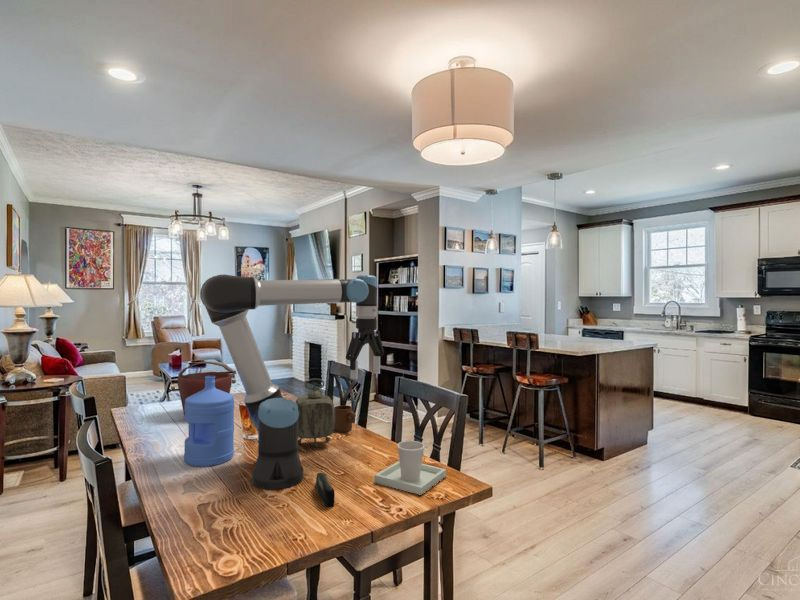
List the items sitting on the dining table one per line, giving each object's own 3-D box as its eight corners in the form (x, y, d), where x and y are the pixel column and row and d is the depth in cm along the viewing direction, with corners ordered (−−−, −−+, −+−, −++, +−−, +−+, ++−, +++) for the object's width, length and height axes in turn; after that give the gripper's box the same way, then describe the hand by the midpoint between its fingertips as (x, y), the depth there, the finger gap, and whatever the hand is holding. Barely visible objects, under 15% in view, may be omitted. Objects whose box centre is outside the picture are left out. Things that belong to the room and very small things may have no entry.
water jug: (216, 447, 164) (217, 371, 163) (243, 457, 154) (244, 376, 154) (174, 460, 151) (175, 377, 150) (200, 471, 142) (201, 382, 141)
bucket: (243, 412, 212) (244, 359, 212) (214, 425, 190) (214, 367, 190) (198, 409, 217) (198, 357, 217) (164, 421, 196) (165, 364, 196)
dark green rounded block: (336, 489, 119) (322, 467, 133) (325, 491, 118) (312, 469, 132) (336, 507, 120) (322, 484, 133) (325, 509, 118) (312, 485, 132)
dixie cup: (422, 472, 141) (423, 440, 141) (425, 483, 133) (425, 449, 133) (396, 472, 141) (396, 440, 141) (397, 483, 133) (397, 449, 133)
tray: (421, 496, 126) (421, 487, 126) (374, 483, 135) (374, 475, 135) (446, 477, 140) (446, 469, 140) (402, 466, 148) (402, 458, 148)
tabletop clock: (331, 439, 174) (332, 375, 174) (335, 447, 165) (336, 379, 165) (293, 443, 170) (294, 377, 169) (295, 451, 161) (296, 381, 161)
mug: (361, 432, 183) (362, 409, 183) (346, 436, 178) (346, 412, 178) (345, 426, 192) (345, 404, 192) (330, 429, 188) (330, 406, 187)
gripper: (353, 319, 151) (352, 382, 151) (393, 317, 172) (393, 372, 172) (335, 318, 155) (335, 380, 155) (377, 316, 176) (377, 370, 176)
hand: (365, 376), depth 163 cm, fingers open, 13 cm apart
